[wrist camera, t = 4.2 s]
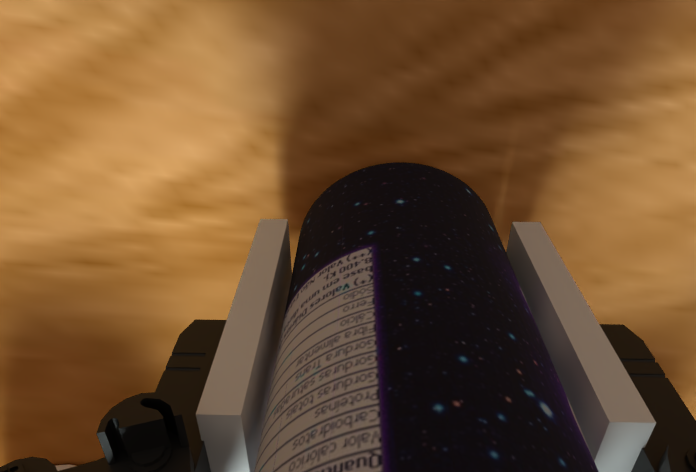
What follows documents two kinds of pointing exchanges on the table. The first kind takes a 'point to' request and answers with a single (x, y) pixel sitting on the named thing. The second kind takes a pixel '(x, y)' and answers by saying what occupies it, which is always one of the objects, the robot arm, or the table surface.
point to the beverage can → (411, 341)
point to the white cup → (64, 467)
